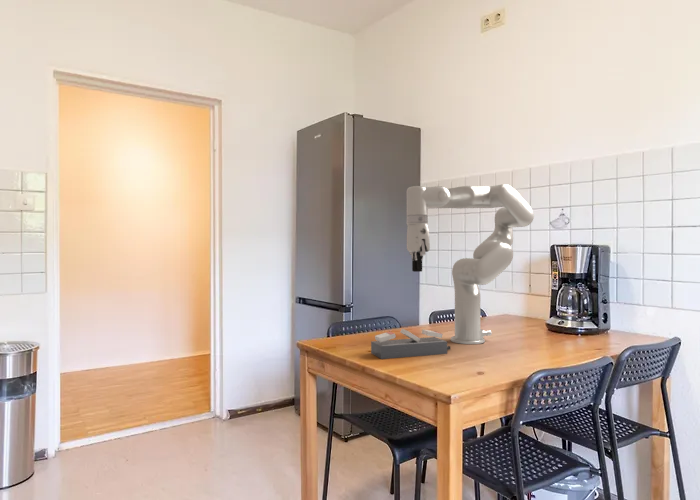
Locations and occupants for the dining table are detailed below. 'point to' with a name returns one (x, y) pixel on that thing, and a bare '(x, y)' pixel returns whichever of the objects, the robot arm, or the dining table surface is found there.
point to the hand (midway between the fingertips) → (417, 271)
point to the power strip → (409, 348)
